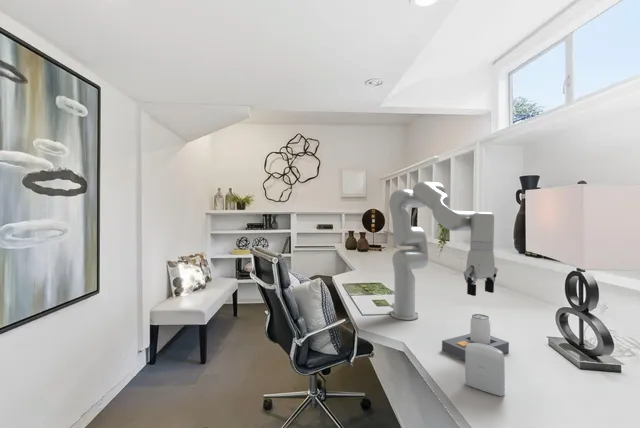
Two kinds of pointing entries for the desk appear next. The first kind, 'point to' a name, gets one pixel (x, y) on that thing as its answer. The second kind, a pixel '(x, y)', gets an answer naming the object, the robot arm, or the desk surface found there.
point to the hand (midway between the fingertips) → (480, 293)
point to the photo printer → (485, 368)
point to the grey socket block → (459, 343)
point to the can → (480, 329)
